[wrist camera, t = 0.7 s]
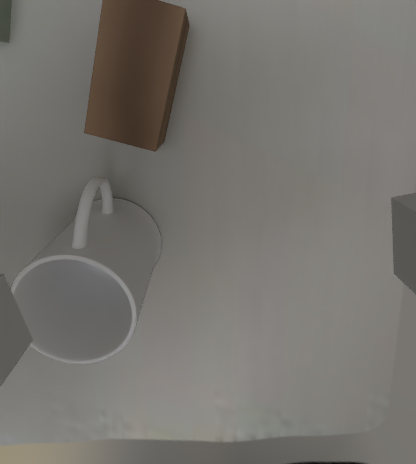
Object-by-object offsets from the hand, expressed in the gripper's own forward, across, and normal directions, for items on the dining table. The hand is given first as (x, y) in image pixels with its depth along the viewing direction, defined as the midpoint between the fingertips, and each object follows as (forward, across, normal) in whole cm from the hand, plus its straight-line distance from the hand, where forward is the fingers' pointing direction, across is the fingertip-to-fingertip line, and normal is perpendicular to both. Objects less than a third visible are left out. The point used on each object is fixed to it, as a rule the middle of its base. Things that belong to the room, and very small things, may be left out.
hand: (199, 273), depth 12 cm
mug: (+21, -9, -4) cm, 23 cm away
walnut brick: (+21, -3, +8) cm, 23 cm away
